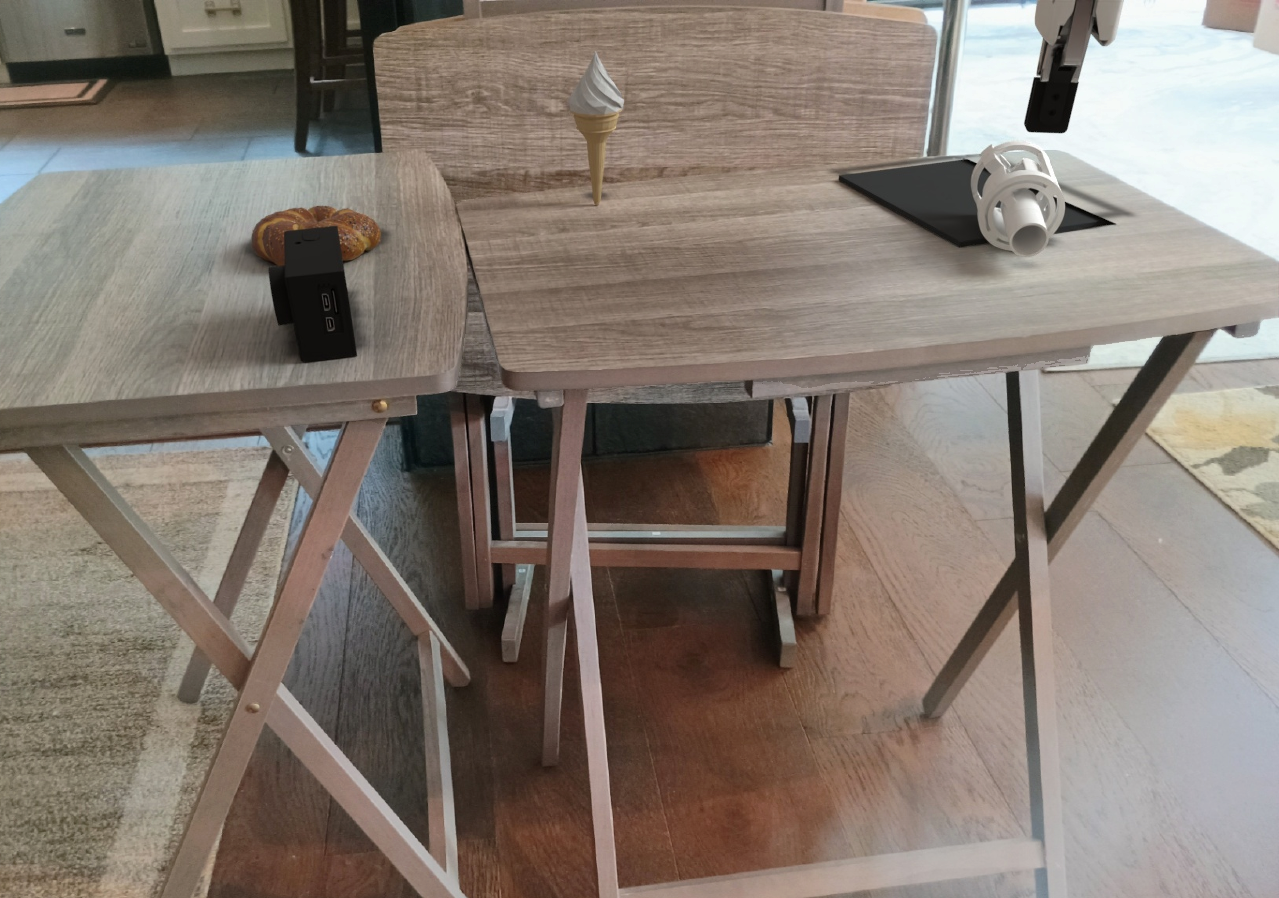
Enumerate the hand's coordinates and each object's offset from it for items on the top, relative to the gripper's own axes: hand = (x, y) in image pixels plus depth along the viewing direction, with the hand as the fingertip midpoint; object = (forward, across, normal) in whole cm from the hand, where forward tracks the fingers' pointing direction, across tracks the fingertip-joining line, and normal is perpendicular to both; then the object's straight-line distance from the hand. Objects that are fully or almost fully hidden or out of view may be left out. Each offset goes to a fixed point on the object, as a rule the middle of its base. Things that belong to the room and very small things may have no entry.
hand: (1044, 129), depth 86 cm
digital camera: (+11, -27, +55) cm, 62 cm away
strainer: (+8, -4, 0) cm, 9 cm away
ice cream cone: (+11, +8, +40) cm, 43 cm away
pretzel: (+11, -10, +63) cm, 65 cm away
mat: (+11, +16, +3) cm, 19 cm away
